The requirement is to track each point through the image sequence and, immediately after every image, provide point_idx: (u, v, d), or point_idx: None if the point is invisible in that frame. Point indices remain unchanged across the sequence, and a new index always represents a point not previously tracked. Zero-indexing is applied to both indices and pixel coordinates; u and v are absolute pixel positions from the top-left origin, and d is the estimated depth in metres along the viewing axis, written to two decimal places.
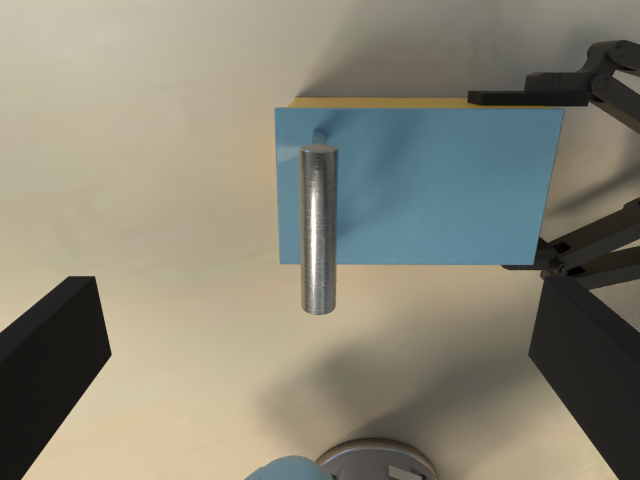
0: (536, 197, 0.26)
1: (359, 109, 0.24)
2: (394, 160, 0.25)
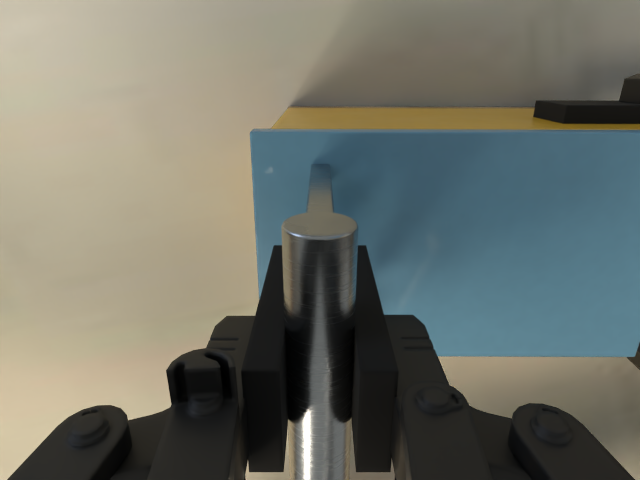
0: None
1: None
2: (436, 209, 0.16)
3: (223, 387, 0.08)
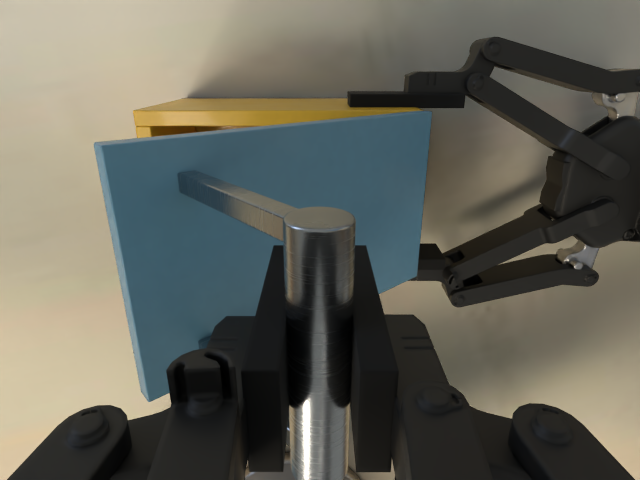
0: (416, 207, 0.24)
1: (239, 132, 0.16)
2: (290, 197, 0.18)
3: (223, 387, 0.08)
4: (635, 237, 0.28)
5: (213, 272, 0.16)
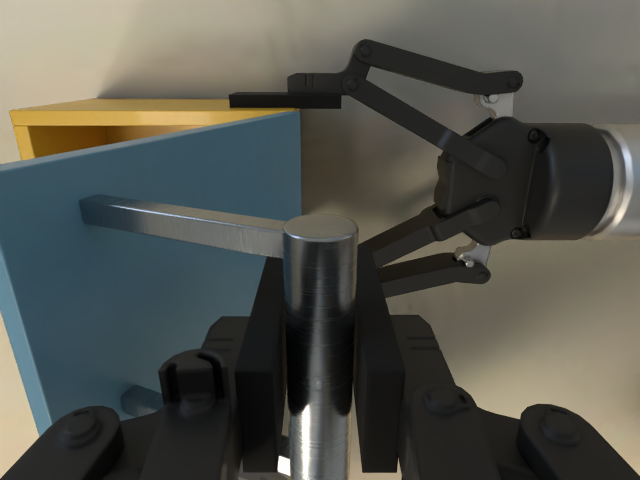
0: (296, 205, 0.24)
1: (139, 144, 0.13)
2: None
3: (215, 387, 0.08)
4: (523, 235, 0.28)
5: (128, 312, 0.14)
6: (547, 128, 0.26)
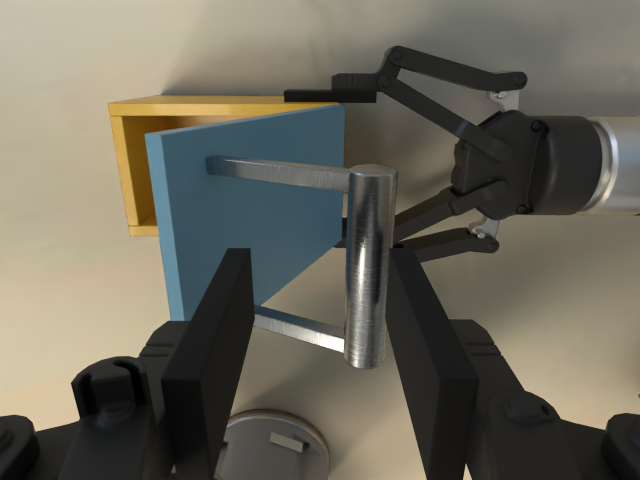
0: None
1: None
2: None
3: (136, 394, 0.08)
4: (527, 211, 0.34)
5: (227, 242, 0.19)
6: (547, 119, 0.31)
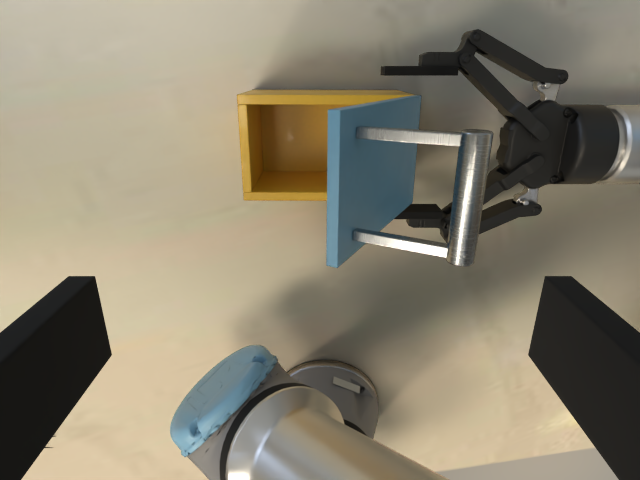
0: (414, 156, 0.38)
1: (370, 105, 0.28)
2: (381, 145, 0.30)
3: None
4: (558, 181, 0.42)
5: (359, 188, 0.28)
6: (576, 107, 0.40)
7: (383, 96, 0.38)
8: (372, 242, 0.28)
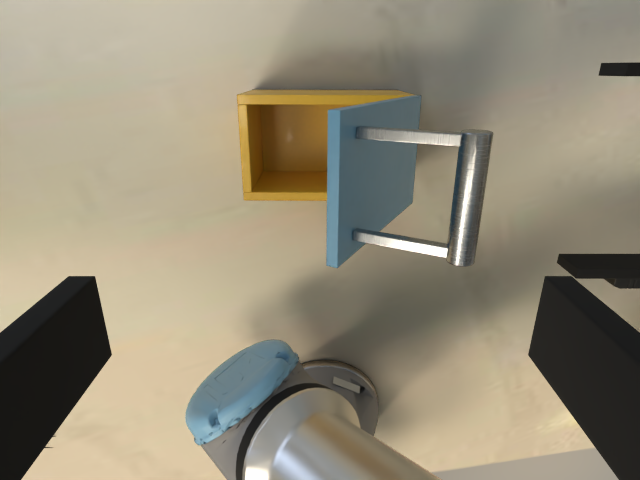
0: (414, 156, 0.38)
1: (370, 105, 0.28)
2: (381, 145, 0.30)
3: None
4: None
5: (359, 188, 0.28)
6: None
7: (383, 96, 0.38)
8: (372, 242, 0.28)
